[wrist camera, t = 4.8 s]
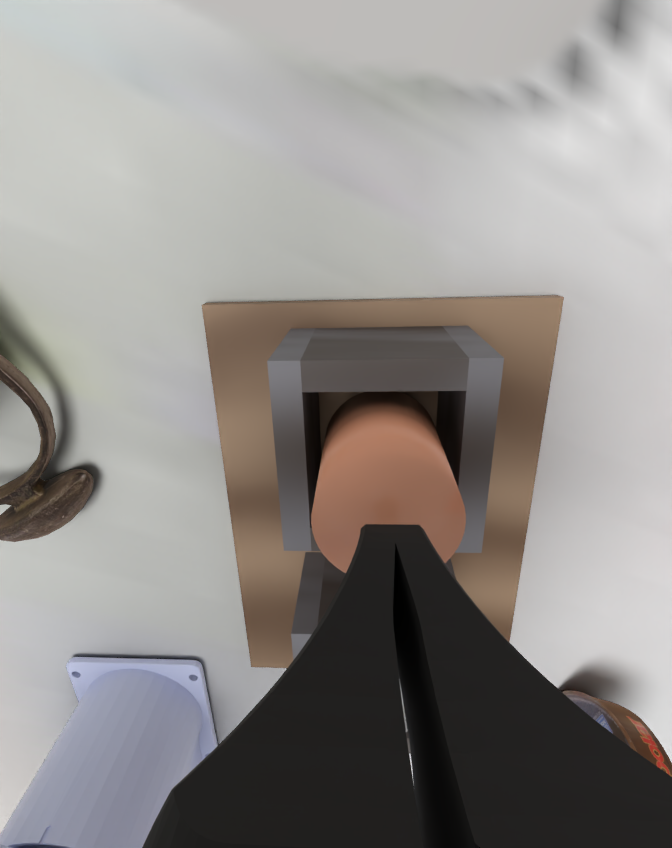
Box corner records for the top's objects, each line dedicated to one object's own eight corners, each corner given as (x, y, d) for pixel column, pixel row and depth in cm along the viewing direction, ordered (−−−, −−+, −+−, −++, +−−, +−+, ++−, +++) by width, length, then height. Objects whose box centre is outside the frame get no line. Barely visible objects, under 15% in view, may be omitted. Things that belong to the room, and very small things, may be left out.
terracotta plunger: (433, 490, 17) (459, 585, 13) (327, 490, 17) (314, 582, 13) (440, 388, 16) (472, 454, 11) (323, 389, 16) (307, 454, 11)
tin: (580, 656, 25) (676, 843, 18) (631, 672, 26) (748, 864, 18) (460, 805, 31) (493, 997, 23) (503, 817, 31) (549, 1010, 24)
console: (501, 664, 26) (536, 772, 21) (253, 657, 27) (227, 760, 21) (557, 295, 18) (635, 321, 13) (206, 302, 19) (147, 329, 14)
